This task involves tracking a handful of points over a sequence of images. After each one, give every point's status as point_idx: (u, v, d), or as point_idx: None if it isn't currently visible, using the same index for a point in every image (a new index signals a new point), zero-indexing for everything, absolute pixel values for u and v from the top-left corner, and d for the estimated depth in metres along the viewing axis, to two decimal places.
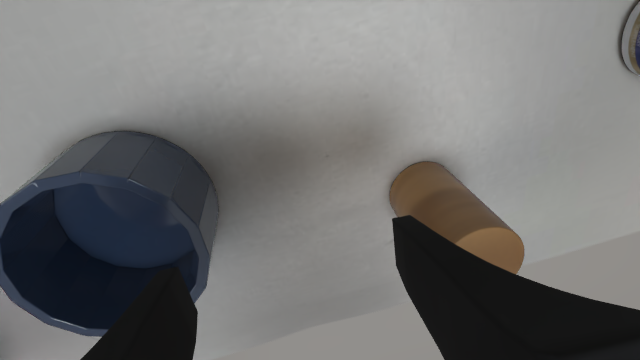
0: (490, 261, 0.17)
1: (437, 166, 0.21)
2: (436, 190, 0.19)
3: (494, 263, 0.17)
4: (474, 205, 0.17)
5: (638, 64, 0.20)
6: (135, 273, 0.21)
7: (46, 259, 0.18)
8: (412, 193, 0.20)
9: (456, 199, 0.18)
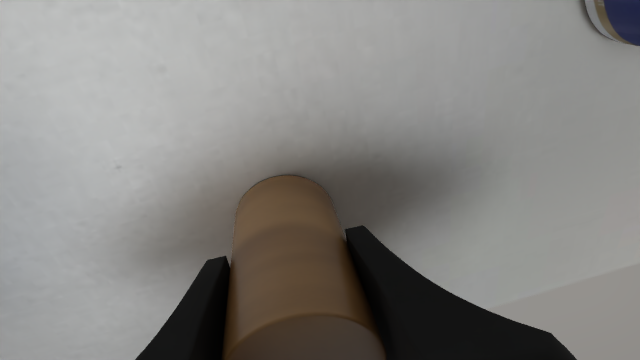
0: None
1: (297, 183, 0.14)
2: (266, 226, 0.11)
3: None
4: (307, 260, 0.10)
5: (609, 18, 0.12)
6: None
7: None
8: (241, 228, 0.12)
9: (282, 247, 0.10)
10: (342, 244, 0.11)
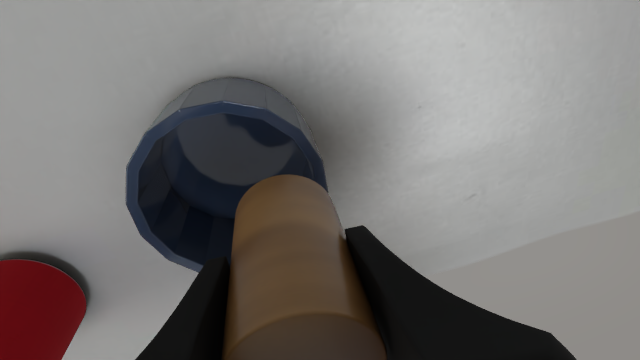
0: None
1: (297, 182, 0.14)
2: (266, 225, 0.11)
3: None
4: (307, 258, 0.10)
5: None
6: (232, 223, 0.22)
7: (161, 201, 0.19)
8: (241, 228, 0.12)
9: (283, 245, 0.10)
10: (342, 243, 0.11)
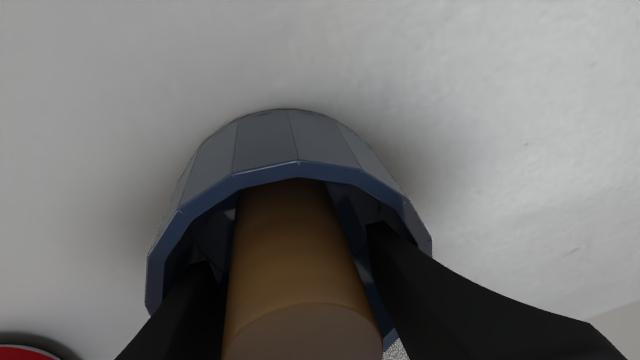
0: (319, 357, 0.09)
1: (296, 177, 0.14)
2: (266, 219, 0.12)
3: None
4: (305, 251, 0.10)
5: None
6: None
7: None
8: (241, 222, 0.13)
9: (282, 238, 0.10)
10: (340, 237, 0.12)
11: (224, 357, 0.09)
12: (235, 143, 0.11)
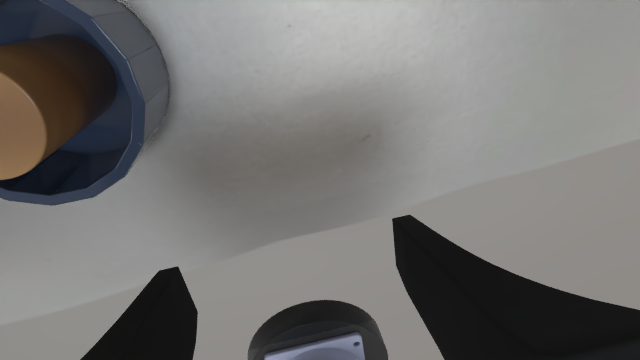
0: None
1: (63, 36, 0.17)
2: None
3: None
4: None
5: None
6: (77, 157, 0.19)
7: None
8: None
9: None
10: (62, 63, 0.14)
11: None
12: None
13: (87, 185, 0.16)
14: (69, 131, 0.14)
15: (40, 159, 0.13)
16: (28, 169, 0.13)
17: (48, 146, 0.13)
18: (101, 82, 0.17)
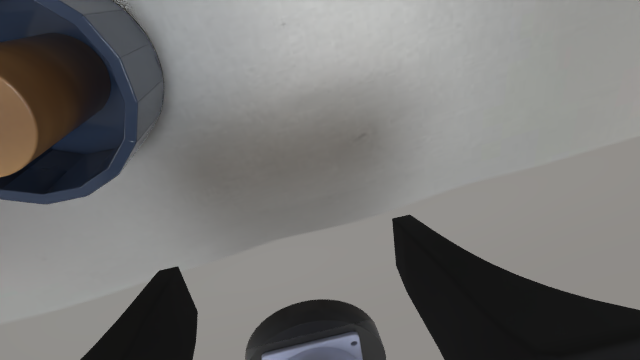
0: None
1: (56, 35, 0.17)
2: None
3: None
4: None
5: None
6: (72, 156, 0.19)
7: None
8: None
9: None
10: (54, 61, 0.14)
11: None
12: None
13: (80, 184, 0.16)
14: (61, 129, 0.14)
15: (31, 157, 0.13)
16: (19, 167, 0.13)
17: (39, 144, 0.13)
18: (95, 81, 0.17)
